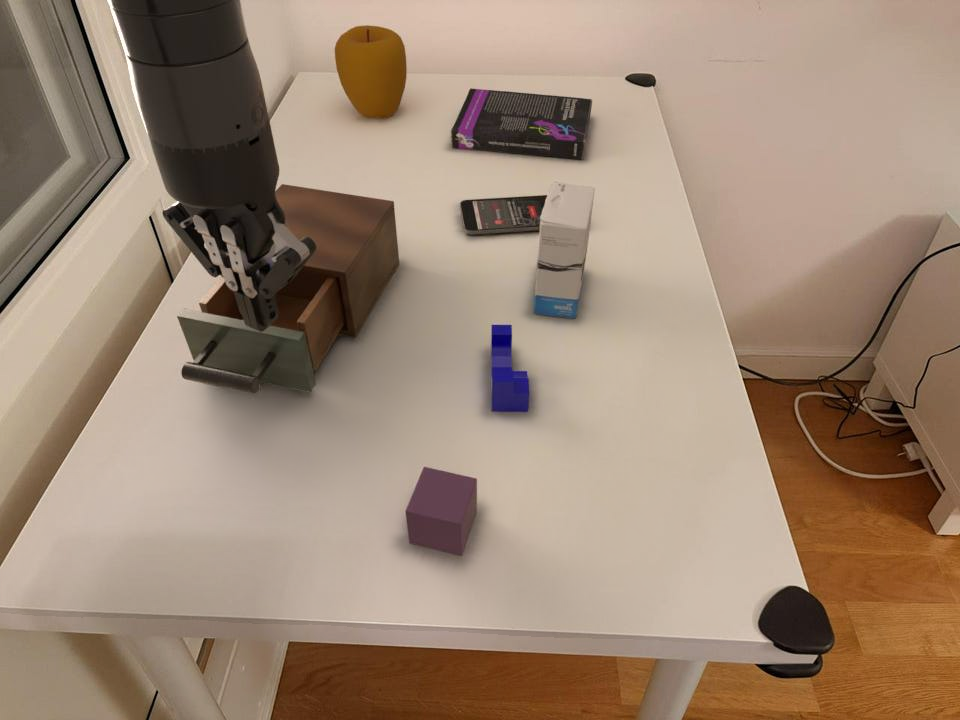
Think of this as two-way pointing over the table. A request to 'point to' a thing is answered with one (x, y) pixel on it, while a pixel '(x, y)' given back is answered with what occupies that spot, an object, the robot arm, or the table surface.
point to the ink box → (562, 249)
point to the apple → (372, 69)
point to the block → (442, 510)
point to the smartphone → (502, 214)
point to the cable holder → (506, 374)
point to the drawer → (264, 336)
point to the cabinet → (346, 244)
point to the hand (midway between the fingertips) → (262, 323)
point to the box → (522, 123)
